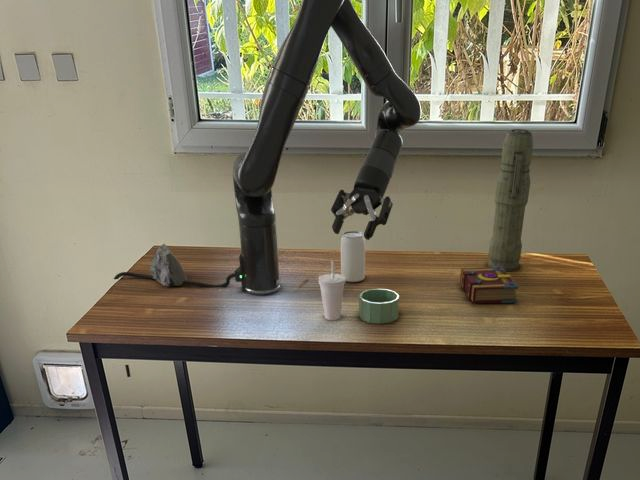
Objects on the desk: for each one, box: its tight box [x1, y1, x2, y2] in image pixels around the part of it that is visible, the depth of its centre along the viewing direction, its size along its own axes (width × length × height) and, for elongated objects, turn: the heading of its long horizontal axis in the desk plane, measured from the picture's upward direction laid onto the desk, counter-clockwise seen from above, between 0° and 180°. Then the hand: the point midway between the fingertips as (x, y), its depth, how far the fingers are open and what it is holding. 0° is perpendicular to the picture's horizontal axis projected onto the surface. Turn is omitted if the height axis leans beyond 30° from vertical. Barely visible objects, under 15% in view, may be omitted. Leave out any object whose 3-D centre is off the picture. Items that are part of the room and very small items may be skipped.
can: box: [340, 230, 366, 283], centre depth 186 cm, size 6×6×12 cm
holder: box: [358, 288, 400, 325], centre depth 167 cm, size 9×9×5 cm
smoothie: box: [317, 259, 346, 321], centre depth 164 cm, size 6×6×14 cm
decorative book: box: [459, 266, 519, 304], centre depth 179 cm, size 11×16×5 cm
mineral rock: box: [149, 243, 188, 288], centre depth 186 cm, size 13×11×10 cm
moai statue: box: [487, 128, 534, 272], centre depth 188 cm, size 9×12×35 cm
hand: (350, 235), depth 164 cm, fingers open, 8 cm apart
